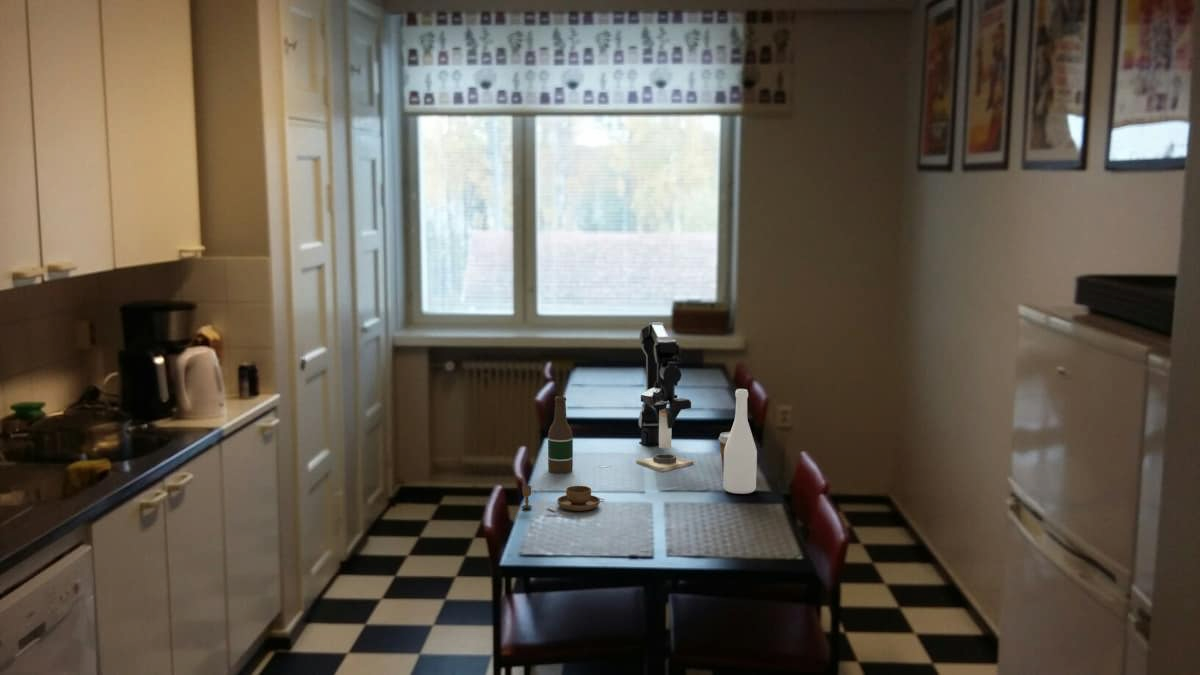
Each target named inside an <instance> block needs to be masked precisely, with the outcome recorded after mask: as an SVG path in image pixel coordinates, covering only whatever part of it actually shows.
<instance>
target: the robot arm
mask: <svg viewBox="0 0 1200 675" xmlns="http://www.w3.org/2000/svg"><path fill="white" fill-rule="evenodd" d="M640 330H641V331H640V333H639V343H640V345H641V350H642V351H643V353H644V355H645V364H646V365H645V368H646V369H645V371H646V372H645V373H646V374H645V378H646V379H645V380H646V390H645V391H644V392H642V393H641V395H640V402H642V405H641V410H640V413H639V415H638V416H639V417H638V426H639V428H641V431H640V432H641V433H640V435H641V436H640V441H639V442H638V444H640V445H644V446H647V447H657V446H659V410H661V409H665V411H666V412H667V423H668V428H672V427H673V426H674V424H675V422H676V419H677V417H678V415H679V414H680V413H681V411H682V410H690V409H692V401H691V400H690V399H688V398H684V397H680V398H678V395H677V394H676V391H675V389H676V388H675V387H677V386H678V385H679V384H678V383H679V382H680V380H681V378H682V373H681V370H680V369H679V367H677V364H681V363H682V358H683V357H682V352H681V347H680V346H679V345H680V344H679V343H677V340H676V339H675V338H674V337H673V338H672V337H669V335H668V333H667V330H666V328H665V323H663V322H649V323H648V325H647V326H646V327H643V328H641V329H640ZM667 406H668V407H667Z"/></svg>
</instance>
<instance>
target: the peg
mask: <svg viewBox="0 0 1200 675" xmlns="http://www.w3.org/2000/svg"><path fill="white" fill-rule="evenodd" d="M658 448H660V449H671V448H672V428H668V423H667V412H666V411H665V409H661V410H659V445H658Z"/></svg>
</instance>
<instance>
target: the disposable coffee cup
mask: <svg viewBox="0 0 1200 675" xmlns="http://www.w3.org/2000/svg"><path fill="white" fill-rule="evenodd" d="M730 432H731V431H726V432H721V433H720V434H719V437H718V441H719V447H720V455H721V465H722V466H721V468H722V472H723V473H724V449H725V446H726V443H727V440H728V437H729V435H730Z"/></svg>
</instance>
